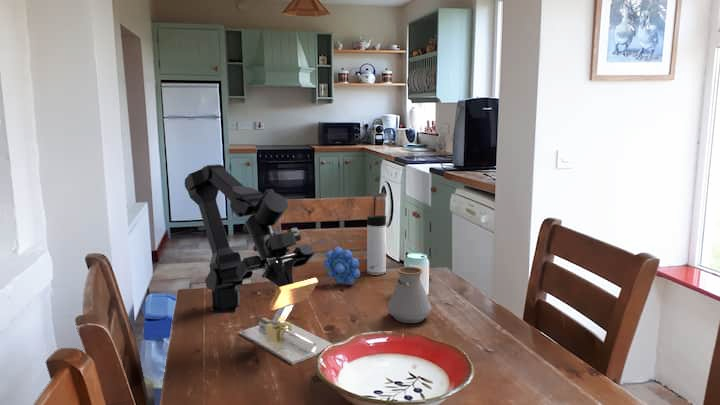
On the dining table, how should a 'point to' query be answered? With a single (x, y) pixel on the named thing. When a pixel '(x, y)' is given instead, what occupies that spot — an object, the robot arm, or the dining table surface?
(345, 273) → the blue bumpy rounded lump
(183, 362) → the dining table surface
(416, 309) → the coffee pot
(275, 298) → the valve lever
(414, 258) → the can
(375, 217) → the travel mug
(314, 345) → the valve body
